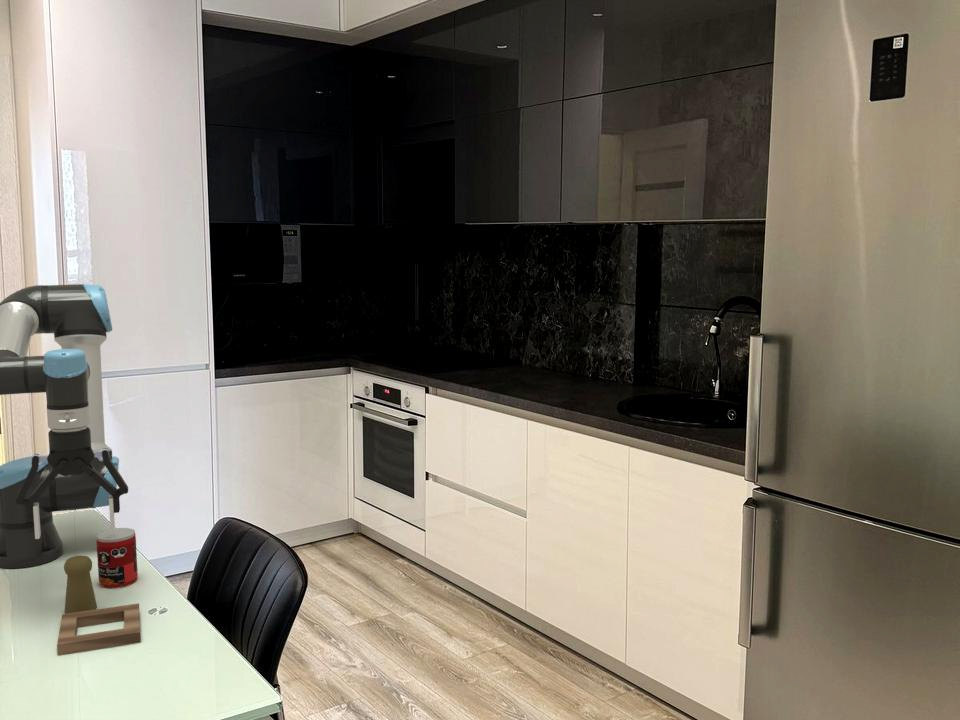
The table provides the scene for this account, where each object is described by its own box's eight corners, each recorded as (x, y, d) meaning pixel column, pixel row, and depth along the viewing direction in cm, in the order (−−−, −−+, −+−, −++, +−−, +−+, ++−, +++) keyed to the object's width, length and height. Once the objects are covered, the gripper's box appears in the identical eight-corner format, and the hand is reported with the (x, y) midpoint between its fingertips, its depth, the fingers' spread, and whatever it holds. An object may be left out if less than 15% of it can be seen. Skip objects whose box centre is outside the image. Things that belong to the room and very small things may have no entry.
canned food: (91, 586, 190) (88, 537, 189) (117, 573, 198) (115, 525, 196) (119, 590, 188) (116, 541, 186) (145, 577, 195) (142, 529, 194)
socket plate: (62, 623, 172) (62, 614, 171) (139, 612, 177) (139, 603, 177) (57, 655, 159) (56, 644, 159) (140, 642, 164) (140, 632, 164)
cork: (84, 617, 175) (81, 564, 173) (57, 614, 176) (54, 561, 174) (103, 604, 181) (100, 553, 179) (77, 602, 182) (74, 551, 180)
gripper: (-6, 437, 165) (3, 546, 168) (137, 426, 174) (143, 530, 177) (0, 429, 172) (7, 534, 175) (137, 420, 181) (142, 519, 184)
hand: (75, 532), depth 176 cm, fingers open, 13 cm apart
